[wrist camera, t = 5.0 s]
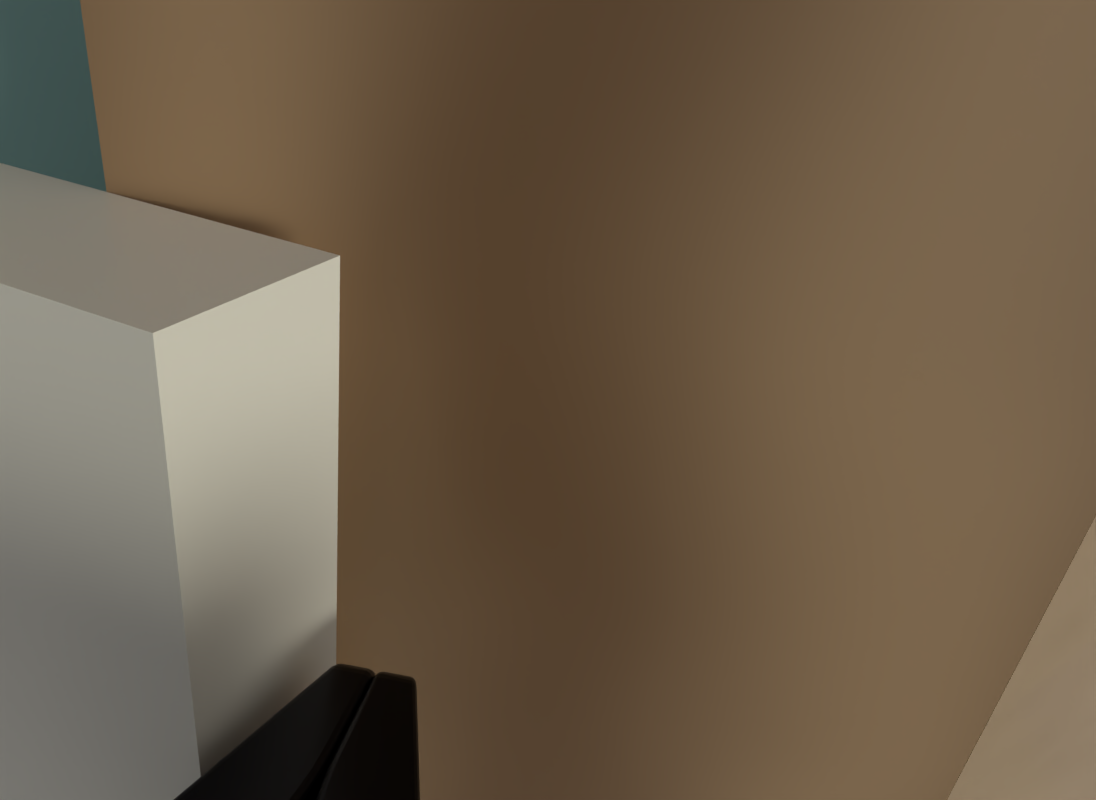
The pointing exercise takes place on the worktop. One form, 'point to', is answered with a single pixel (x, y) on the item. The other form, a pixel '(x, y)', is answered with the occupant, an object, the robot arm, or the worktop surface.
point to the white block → (157, 488)
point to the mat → (48, 92)
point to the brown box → (668, 359)
